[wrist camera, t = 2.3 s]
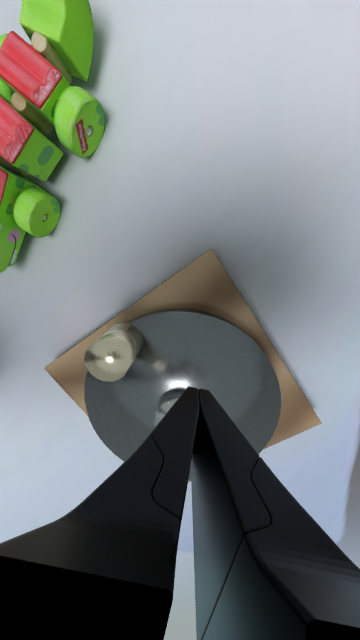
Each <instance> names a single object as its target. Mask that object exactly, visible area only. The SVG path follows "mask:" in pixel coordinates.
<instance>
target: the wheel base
mask: <svg viewBox="0 0 360 640" xmlns="http://www.w3.org/2000/svg"><path fill="white" fill-rule="evenodd" d="M178 308H186V309H194V310H200V311H204V312H208V313H212V314H214V315H217V316H219V317H222V318H225V319H226V320H228V321H230V322H232V323H234V324H235V325H237V326H238V327H240V328H241V329H242V330H244V331H245V332H246V333H247V334H248V335H249V336H250V337H251V338H252V339H253V340H254V341H255V342H256V343H257V344H258V345H259V347H260V348H261V349H262V351H263V352H264V354H265V355H266V356H267V358H268V359H269V361H270V363H271V365H272V367H273V368H274V370H275V373H276V376H277V378H278V381H279V386H280V391H281V412H280V418H279V421H278V424H277V427H276V429H275V432H274V434H273V436H272V438H271V439H270V441H269V442H268V444H267V445H266V446H265V447H264V449H265V448H267V447H269V446H272V445H274V444H276V443H278V442H281V441H283V440H285V439H287V438H290V437H292V436H294V435H297V434H299V433H301V432H303V431H306V430H308V429H310V428H312V427H315V426H317V425H319V424H322V423H321V421H320V419H319V418H318V416H317V415H316V413H315V411H314V410H313V408H312V407H311V405H310V404H309V402H308V400H307V399H306V397H305V396H304V394H303V392H302V391H301V389H300V388H299V386H298V385H297V383H296V381H295V380H294V378H293V377H292V375H291V373H290V372H289V370H288V369H287V367H286V366H285V364H284V362H283V361H282V359H281V358H280V356H279V354H278V353H277V351H276V350H275V348H274V347H273V345H272V343H271V342H270V340H269V339H268V337H267V335H266V334H265V332H264V331H263V329H262V328H261V326H260V324H259V323H258V321H257V320H256V318H255V316H254V315H253V313H252V312H251V310H250V309H249V307H248V305H247V304H246V302H245V301H244V299H243V297H242V296H241V294H240V293H239V291H238V289H237V288H236V286H235V285H234V283H233V282H232V280H231V278H230V277H229V275H228V274H227V272H226V270H225V269H224V267H223V266H222V264H221V263H220V261H219V259H218V258H217V256H216V255H215V253H214V251H213V250H212V248H211V249H209V250H208V251H207V252H205V253H204V254H202V255H201V256H200V257H198V258H197V259H195V260H194V261H193V262H191V263H190V264H188V265H187V266H186V267H184V268H183V269H181V270H180V271H179V272H177V273H176V274H175V275H173V276H172V277H170V278H169V279H168V280H166V281H165V282H163V283H162V284H161V285H159V286H158V287H156V288H155V289H154V290H152V291H151V292H149V293H148V294H147V295H145V296H144V297H142V298H141V299H140V300H138V301H137V302H135V303H134V304H133V305H131V306H130V307H128V308H127V309H126V310H124V311H123V312H121V313H120V314H119V315H117V316H116V317H114V318H113V319H112V320H110V321H109V322H107V323H106V324H105V325H103V326H102V327H100V328H99V329H98V330H96V331H95V332H93V333H92V334H91V335H89V336H88V337H86V338H85V339H84V340H82V341H81V342H79V343H78V344H77V345H75V346H74V347H72V348H71V349H70V350H68V351H67V352H65V353H64V354H63V355H61V356H60V357H58V358H57V359H56V360H54V361H53V362H52V363H50V364H49V365H47V366H46V367H45V368H44V369H45V370H46V371H47V372H48V373H49V374H50V375H51V377H52V378H53V379H54V380H55V381H56V382H57V383H58V384H59V385H60V386H61V387H62V388H63V390H64V391H65V392H66V393H67V394H68V395H69V396H70V397H71V398H72V399H73V400H74V401H75V403H76V404H77V405H78V406H79V407H80V408H81V409H82V410H83V411H84V412H85V413H86V414H87V416H88V413H87V410H86V405H85V399H84V386H85V378H86V375H87V371H88V369H87V367H86V365H85V361H84V357H85V352H86V350H87V349H88V347H89V346H90V345H92V344H93V343H94V342H95V341H96V340H98V339H99V338H100V337H101V336H102V335H104V334H105V333H106V332H107V331H108V330H110V329H111V328H112V327H113V326H114V325H116V324H119V323H128V322H129V321H131V320H133V319H135V318H137V317H139V316H142V315H144V314H147V313H150V312H154V311H158V310H164V309H178ZM88 417H89V416H88ZM188 482H190V481H188Z"/></svg>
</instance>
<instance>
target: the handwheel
mask: <svg viewBox="0 0 360 640" xmlns="http://www.w3.org/2000/svg"><path fill="white" fill-rule="evenodd" d="M84 361H85V365H86V367H87V369H88V371H87V375H86V378H85V386H84V399H85V405H86V410H87V413H88V416H89V419H90V422H91V424H92V426H93V428H94V430H95V431H96V433H97V434H98V436H99V438H100V439H101V440H102V441H103V443H104V444H105V445H106V446H107V447H108V448H109V449H110V450H111V451H112V452H113V453H114V454H115V455H116V456H118V457H119V458H120V459H122V460H123V461H124V462H125V461H126V460H127V459H128V458H129V457H130V456H131V455H132V454H133V453H134V452H135V451H136V450H137V448H138V447H139V446H140V445H141V444H142V443H143V442H144V440H145V439H146V438H147V437H148V435H150V433H151V432H152V431H153V429H154V428H155V427H156V426H157V424H158V423H159V422H160V421H161V419H162V418H163V417H164V416H165V414H166V413H167V412H168V411H169V409H170V408H171V407H172V406H173V404H174V403H175V402H176V401H177V399H178V398H179V397H180V396H181V395H182V393H183V392H184V391H185V390H186V388H187V387H188V386H190V387H195V388H198V390H199V389H205V390H209V391H210V392H211V393H212V395H213V396H214V397H215V399H216V400H217V401H218V403H219V404H220V405H221V406H222V408H223V409H224V410H225V412H226V413H227V414H228V416H229V417H230V418H231V419H232V421H233V422H234V423H235V425H236V426H237V427H238V428H239V430H240V431H241V432H242V434H243V435H244V436H245V438H246V439H247V440H248V441H249V443H250V444H251V445H252V447H253V448H254V449H255V450H256V452H257V453H258V454H259V453H260V452H261V451H262V450H263V449H264V447H265V446H266V445H267V444H268V442H269V441H270V439H271V438H272V436H273V434H274V432H275V429H276V427H277V424H278V421H279V418H280V412H281V391H280V386H279V381H278V378H277V376H276V373H275V370H274V368H273V367H272V365H271V363H270V361H269V359H268V358H267V356H266V355H265V354H264V352H263V351H262V349H261V348H260V347H259V345H258V344H257V343H256V342H255V341H254V340H253V339H252V338H251V337H250V336H249V335H248V334H247V333H246V332H245V331H244V330H242V329H241V328H240V327H238V326H237V325H235V324H234V323H232V322H230V321H228V320H226V319H225V318H222V317H219V316H217V315H214V314H212V313H208V312H204V311H200V310H194V309H186V308H178V309H164V310H158V311H154V312H150V313H147V314H144V315H142V316H139V317H137V318H135V319H133V320H131V321H129V322H128V323H119V324H116V325H114V326H113V327H112V328H111V329H110V330H108V331H107V332H106V333H105V334H104V335H102V336H101V337H100V338H99V339H98V340H96V341H95V342H94V343H93V344H92V345H90V346H89V347H88V349H87V350H86V352H85V357H84ZM188 481H191V466H190V472H189V478H188Z"/></svg>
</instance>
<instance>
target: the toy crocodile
mask: <svg viewBox="0 0 360 640" xmlns="http://www.w3.org/2000/svg"><path fill="white" fill-rule="evenodd" d="M20 24H21V26H22V27H23V29H24V31H25V32H26V34H27V35H28V37H29V39H30V40H31V42H32V45H29V44H28V43H27V42H25V41H24V40H23V39H22V38H21V37H20V36H19V35H17V34H16V33H15V32H14V31H11V32H10V33H9V34H4V35H2V36H0V273H1V272H3V271H4V270H5V269H6V268H7V267H9V266H11V265H13V264H14V263H15V261H16V258H17V256H18V252H19V250H20V247H21V244H22V242H23V239H24V236H25V233H26V232H28V233H29V234H31V235H33V236H35V237H44V236H47V235H48V234H50V233H51V232H52V231H53V230H54V228H55V227H56V225H57V223H58V221H59V218H60V205H59V202H58V201H57V199H56V198H54V197H53V196H52V195H50V194H49V193H47V192H46V191H44V190H42V189H41V188H40V187H39V186H38V185H36V184H35V182H33V181H31V180H29V179H27V178H26V177H25V175H26V174H30V175H32V176H34V177H35V178H37V179H39V180H41V181H43V182H46V180H47V179H48V177H49V176H50V174H51V173H52V171H53V169H54V168H55V166H56V165H57V163H58V162H59V160H60V159H61V157H62V156H63V151H62V150H61V149H60V148H59V147H57V146H56V145H55V144H54V143H53V142H52V141H51V140H50V139H49V138H48V137H47V134H49V133H51V128H52V126H53V127H54V128H55V130H56V134H57V136H58V139H59V141H60V142H61V143H62V144H63V145H64V146H65V147H66V148H67V149H69V150H70V151H71V152H73V153H74V154H75V155H77V156H79V157H82V158H84V157H88V156H90V155H91V154H92V153H93V152H94V151H95V150H96V149H97V147H98V145H99V143H100V141H101V139H102V136H103V133H104V126H105V117H104V111H103V108H102V106H101V104H100V103H99V101H98V100H97V99H96V98H94V97H93V96H92V95H91V94H89V93H88V92H87V91H86V90H84V89H83V88H81V87H77V86H71V85H70V84H71V82H72V76H74V77H76V78H78V79H80V80H82V81H85V82H87V80H88V76H89V71H90V65H91V60H92V53H93V38H94V32H93V20H92V13H91V8H90V4H89V1H88V0H22V9H21V15H20Z"/></svg>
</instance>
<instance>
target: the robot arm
mask: <svg viewBox="0 0 360 640" xmlns="http://www.w3.org/2000/svg"><path fill="white" fill-rule="evenodd" d="M190 466H191V481H192V511H193V540H194V570H195V599H196V629H197V640H360V569H359V568H358V567H357V566H356V565H355V564H354V563H353V562H352V561H351V560H350V559H349V558H348V557H347V556H346V555H345V554H344V553H343V552H342V551H341V549H340V548H339V547H338V546H337V545H336V544H335V543H334V542H333V540H332V539H331V538H330V537H329V536H328V535H327V534H326V533H325V532H324V530H323V529H322V528H321V527H320V526H319V525H318V524H317V523H316V522H315V520H314V519H313V518H312V517H311V516H310V515H309V514H308V513H307V512H306V511H305V509H304V508H303V507H302V506H301V505H300V504H299V503H298V502H297V500H296V499H295V498H294V497H293V496H292V495H291V494H290V492H289V491H288V490H287V489H286V488H285V487H284V486H283V484H282V483H281V482H280V481H279V480H278V478H277V477H276V476H275V475H274V473H273V472H272V471H271V470H270V468H269V467H268V466H267V465H266V463H265V462H264V461H263V459H262V458H261V457H259V454H258V453H257V452H256V450H255V449H254V448H253V447H252V445H251V444H250V443H249V441H248V440H247V439H246V438H245V436H244V435H243V434H242V432H241V431H240V430H239V428H238V427H237V426H236V425H235V423H234V422H233V421H232V419H231V418H230V417H229V416H228V414H227V413H226V412H225V410H224V409H223V408H222V406H221V405H220V404H219V403H218V401H217V400H216V399H215V397H214V396H213V395H212V393H211V392H210V391H209V390H205V389H199V390H198V388H195V387H190V386H188V387H187V388H186V390H185V391H184V392H183V393H182V395H181V396H180V397H179V398H178V399H177V401H176V402H175V403H174V404H173V406H172V407H171V408H170V409H169V411H168V412H167V413H166V414H165V416H164V417H163V418H162V419H161V421H160V422H159V423H158V424H157V426H156V427H155V428H154V429H153V431H152V432H151V433H150V435H148V437H147V438H146V439H145V440H144V442H143V443H142V444H141V445H140V446H139V447H138V448H137V450H136V451H135V452H134V453H133V454H132V455H131V456H130V457H129V458H128V459H127V460H126V461H125V462H124V463H123V464H122V465H121V466H120V467H119V468H118V469H117V470H116V471H115V472H114V473H113V474H112V475H110V476H109V477H108V478H107V479H106V480H105V481H104V482H103V483H102V484H101V485H100V486H99V487H98V488H97V489H96V490H95V491H93V492H92V493H91V494H90V495H89V496H88V497H87V498H86V499H85V500H84V501H83V502H82V503H80V504H79V505H78V506H77V507H76V508H75V509H73V510H72V511H71V512H69V513H68V514H66V515H65V516H63V517H62V518H60V519H58V520H56V521H54V522H52V523H49V524H47V525H44V526H42V527H40V528H37V529H35V530H32V531H30V532H27V533H25V534H22V535H20V536H17V537H15V538H12V539H10V540H7V541H5V542H2V543H0V640H163V639H164V635H165V631H166V627H167V622H168V618H169V613H170V609H171V605H172V600H173V589H174V578H175V566H176V555H177V546H178V539H179V532H180V526H181V520H182V514H183V508H184V502H185V496H186V490H187V484H188V478H189V472H190Z"/></svg>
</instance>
